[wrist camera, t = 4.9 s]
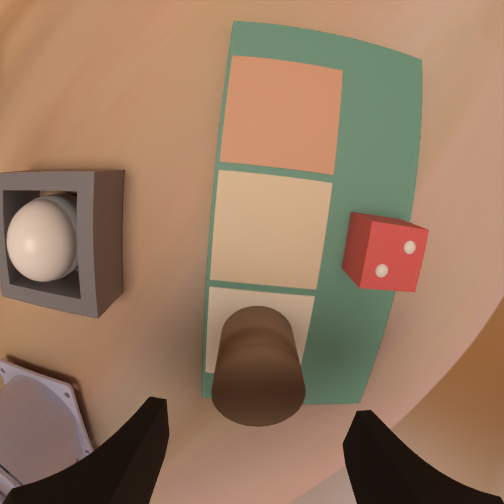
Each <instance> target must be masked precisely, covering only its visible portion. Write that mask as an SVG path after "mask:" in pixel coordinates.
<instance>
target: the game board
mask: <svg viewBox="0 0 504 504" xmlns="http://www.w3.org/2000/svg"><path fill="white" fill-rule="evenodd" d="M421 115H422V60H421V59H418V58H415V57H412V56H410V55H407V54H404V53H401V52H398V51H395V50H392V49H388V48H385V47H382V46H378V45H375V44H372V43H368V42H364V41H360V40H356V39H352V38H348V37H344V36H340V35H335V34H330V33H326V32H320V31H315V30H309V29H304V28H297V27H290V26H283V25H275V24H266V23H255V22H242V21H233V28H232V34H231V41H230V48H229V55H228V62H227V69H226V77H225V84H224V92H223V100H222V109H221V117H220V126H219V135H218V144H217V154H216V164H215V174H214V185H213V196H212V207H211V219H210V232H209V246H208V260H207V276H206V293H205V312H204V334H203V361H202V397H206V398H212V396H211V390H212V384H213V378H214V372H215V366H216V360H217V355H218V349H219V343H220V338H221V332H222V328H223V326H224V323H225V322H226V320H227V319H228V318H229V317H230V316H231V315H232V314H233V313H235V312H236V311H238V310H240V309H242V308H245V307H250V306H265V307H269V308H272V309H274V310H276V311H278V312H280V313H281V314H282V315H283V316H284V317H285V318H286V319H287V320H288V322H289V323H290V325H291V328H292V332H293V336H294V340H295V344H296V349H297V353H298V357H299V361H300V366H301V370H302V374H303V379H304V383H305V388H306V395H305V399H304V402H303V404H353V403H360V400H361V397H362V395H363V392H364V390H365V387H366V384H367V381H368V379H369V376H370V373H371V370H372V367H373V364H374V362H375V359H376V356H377V353H378V349H379V346H380V343H381V340H382V337H383V333H384V330H385V327H386V323H387V320H388V316H389V313H390V309H391V305H392V302H393V298H394V294H395V291H407V292H415V289H416V286H417V282H418V278H419V274H420V269H421V265H422V261H423V256H424V252H425V247H426V242H427V237H428V232H429V230H427V229H425V228H422V227H420V226H417V225H414V224H412V223H410V218H411V212H412V206H413V199H414V192H415V184H416V176H417V167H418V157H419V146H420V133H421Z"/></svg>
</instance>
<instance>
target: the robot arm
mask: <svg viewBox="0 0 504 504" xmlns="http://www.w3.org/2000/svg"><path fill="white" fill-rule="evenodd" d="M0 373H1V375H2V378H3V381H4V384H5V386H4V387H3V388H2V389H1V390H0V504H149V502H150V498H151V495H152V493H153V490H154V487H155V484H156V481H157V478H158V475H159V472H160V469H161V466H162V463H163V460H164V457H165V453H166V449H167V444H168V439H169V425H168V413H167V401H166V399H161V398H156V397H149V398H148V399H147V400H146V401H145V403H144V404H143V405H142V406H141V407H140V408H139V409H138V411H137V412H136V413H135V414H134V415H133V416H132V417H131V418H130V419H129V420H128V421H127V422H126V423H125V424H124V425H123V426H122V427H121V428H120V429H119V430H118V431H117V432H116V433H115V434H114V435H113V436H111V437H110V438H109V439H108V440H107V441H106V442H104V443H103V444H102V445H101V446H99V447H98V448H97V449H96V450H94V451H93V448H92V445H91V443H90V440H89V437H88V434H87V432H86V429H85V426H84V423H83V420H82V417H81V413H80V410H79V407H78V404H77V400H76V397H75V393H74V390H73V387H72V386H71V385H70V384H69V383H67V382H63V381H60V380H57V379H54V378H51V377H48V376H45V375H42V374H39V373H37V372H34V371H31V370H28V369H26V368H23V367H21V366H18V365H15V364H13V363H10V362H8V361H6V360H3V359H0ZM343 450H344V458H345V464H346V468H347V471H348V475H349V479H350V482H351V485H352V489H353V492H354V495H355V498H356V502H357V504H504V503H503V500H502V499H501V497H499V496H495V495H491V494H488V493H484V492H481V491H478V490H476V489H473V488H470V487H468V486H466V485H463V484H461V483H459V482H457V481H455V480H453V479H451V478H450V477H448V476H446V475H444V474H443V473H441V472H439V471H438V470H436V469H435V468H434V467H432V466H431V465H429V464H428V463H426V462H425V461H424V460H423V459H421V458H420V457H419V456H418V455H417V454H415V453H414V452H413V451H412V450H411V449H409V448H408V447H407V446H406V445H405V444H404V443H403V442H402V441H401V440H400V439H399V438H398V437H397V436H396V435H395V434H394V433H393V432H392V431H391V430H390V429H389V428H388V427H387V426H386V425H385V424H384V423H383V422H382V421H381V420H380V419H379V418H378V417H377V416H376V415H375V414H374V413H373V412H372V411H371V410H364V411H357V412H356V414H355V417H354V419H353V421H352V424H351V426H350V428H349V431H348V433H347V435H346V437H345V440H344V442H343Z"/></svg>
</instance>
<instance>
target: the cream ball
mask: <svg viewBox="0 0 504 504" xmlns="http://www.w3.org/2000/svg"><path fill="white" fill-rule="evenodd" d="M7 250H8V254H9V257H10V259H11V261H12V263H13V265H14V266H15V268H16V269H17V270H18V271H19V272H20V273H21V274H22V275H24V276H25V277H27V278H29V279H31V280H34V281H40V282H46V281H51V280H57V279H60V278H63V277H64V276H66V275H67V274H69V273H71V272H72V271H74V270H75V269H77V268H78V250H77V197H76V196H74V195H71V194H68V193H59V194H54V195H49V196H44V197H39V198H36V199H33V200H32V201H30V202H29V203H27V204H26V205H24V206H23V207H22V208H21V209H19V210H18V212H17V213H16V214H15V215H14V217H13V218H12V220H11V223H10V225H9V228H8V232H7Z"/></svg>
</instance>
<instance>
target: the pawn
mask: <svg viewBox="0 0 504 504" xmlns="http://www.w3.org/2000/svg"><path fill="white" fill-rule="evenodd" d="M305 395H306V388H305V383H304V379H303V374H302V370H301V366H300V361H299V357H298V353H297V349H296V344H295V340H294V336H293V332H292V328H291V325H290V323H289V322H288V320H287V319H286V318H285V317H284V316H283V315H282V314H281V313H280V312H278V311H276V310H274V309H272V308H269V307H265V306H250V307H245V308H242V309H240V310H238V311H236V312H235V313H233V314H232V315H231V316H230V317H229V318H228V319H227V320H226V322H225V323H224V326H223V328H222V332H221V338H220V343H219V349H218V355H217V360H216V366H215V372H214V378H213V384H212V390H211V396H212V400H213V403H214V405H215V407H216V408H217V410H218V411H219V412H220V413H221V414H222V415H223V416H225V417H226V418H228V419H229V420H231V421H233V422H236V423H239V424H242V425H246V426H258V427H260V426H269V425H273V424H277V423H280V422H282V421H284V420H286V419H288V418H289V417H291V416H292V415H294V414H295V413H296V412H297V411H298V410H299V408H300V407H301V405H302V404H303V402H304V399H305Z"/></svg>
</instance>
